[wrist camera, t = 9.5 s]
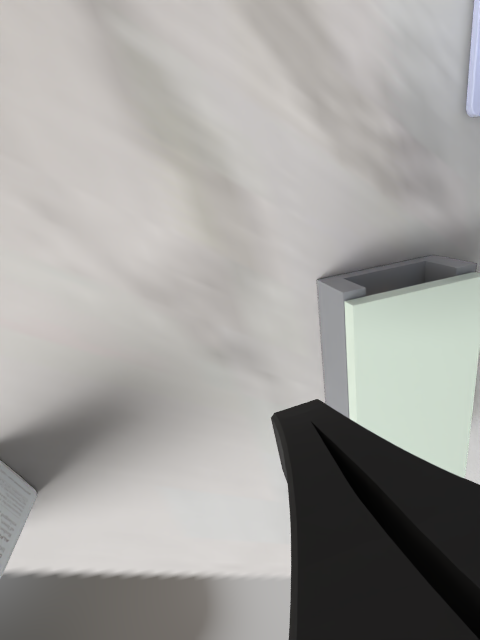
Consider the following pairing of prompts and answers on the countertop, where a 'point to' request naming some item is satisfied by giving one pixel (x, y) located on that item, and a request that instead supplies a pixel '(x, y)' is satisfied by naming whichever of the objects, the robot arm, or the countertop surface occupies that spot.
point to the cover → (417, 366)
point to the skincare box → (12, 510)
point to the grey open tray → (362, 285)
